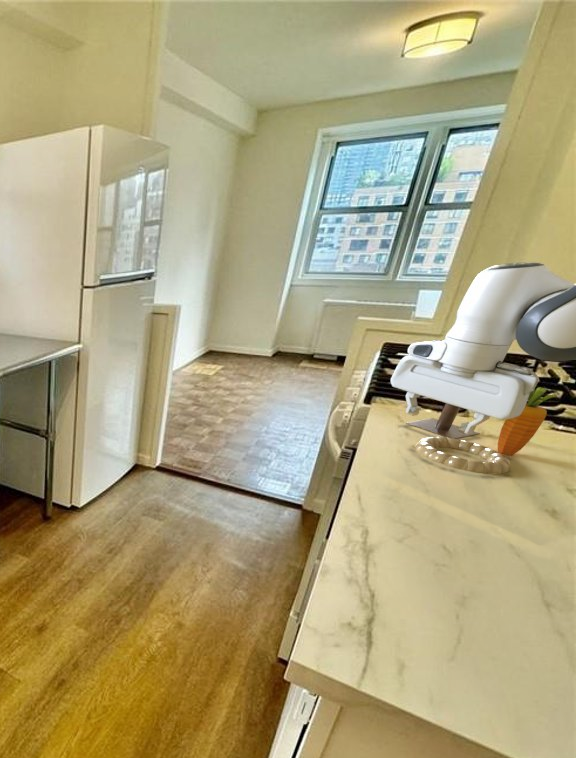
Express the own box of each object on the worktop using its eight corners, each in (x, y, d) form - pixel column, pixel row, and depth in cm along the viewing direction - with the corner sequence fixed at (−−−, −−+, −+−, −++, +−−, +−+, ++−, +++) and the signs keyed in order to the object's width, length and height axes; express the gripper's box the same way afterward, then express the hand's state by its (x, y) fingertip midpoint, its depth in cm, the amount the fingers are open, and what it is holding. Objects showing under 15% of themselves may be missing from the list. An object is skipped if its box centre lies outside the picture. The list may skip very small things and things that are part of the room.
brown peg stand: (476, 439, 103) (508, 379, 97) (449, 445, 101) (480, 383, 95) (429, 423, 111) (456, 367, 105) (403, 428, 108) (428, 370, 102)
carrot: (494, 452, 98) (532, 381, 91) (525, 463, 94) (568, 390, 87) (478, 455, 97) (516, 384, 90) (509, 467, 92) (551, 393, 86)
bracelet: (523, 473, 90) (530, 460, 89) (476, 485, 86) (484, 471, 85) (440, 443, 102) (446, 431, 100) (395, 452, 98) (401, 440, 96)
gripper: (555, 369, 82) (512, 442, 88) (421, 340, 99) (394, 403, 105) (532, 373, 80) (491, 447, 86) (400, 342, 97) (374, 406, 103)
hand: (436, 423), depth 96 cm, fingers open, 8 cm apart
